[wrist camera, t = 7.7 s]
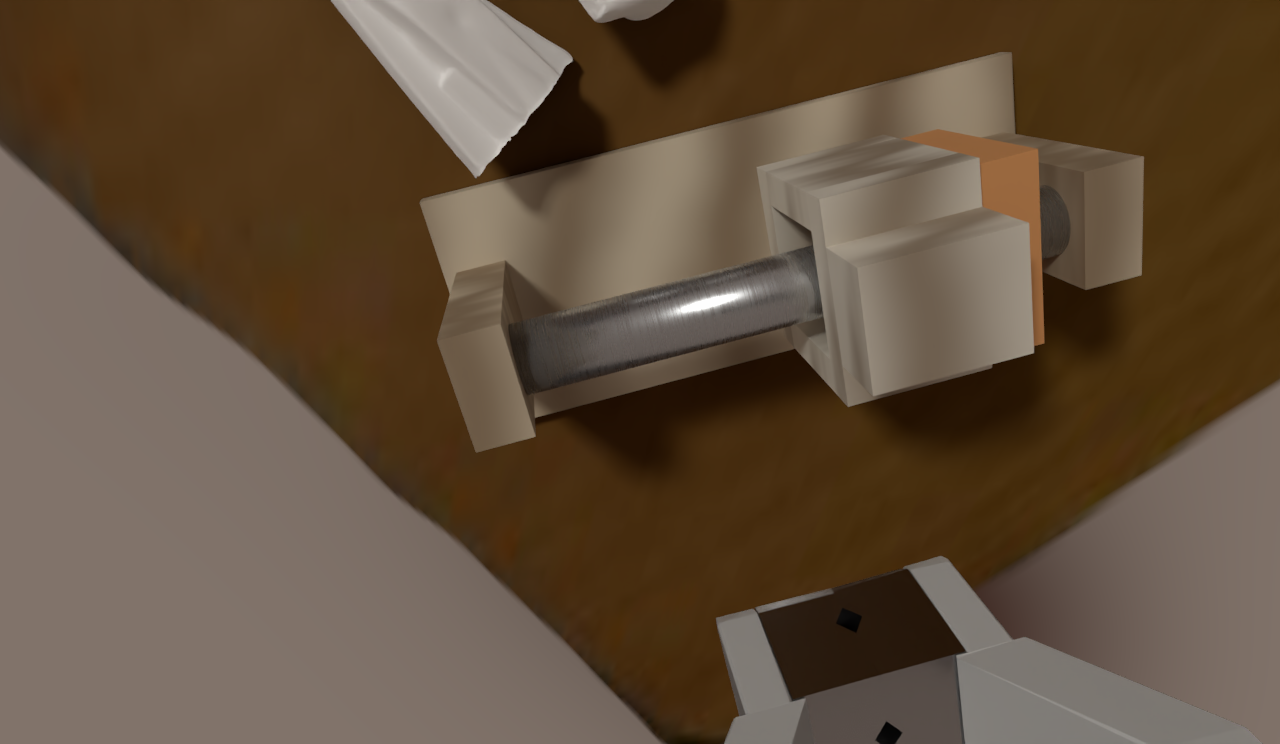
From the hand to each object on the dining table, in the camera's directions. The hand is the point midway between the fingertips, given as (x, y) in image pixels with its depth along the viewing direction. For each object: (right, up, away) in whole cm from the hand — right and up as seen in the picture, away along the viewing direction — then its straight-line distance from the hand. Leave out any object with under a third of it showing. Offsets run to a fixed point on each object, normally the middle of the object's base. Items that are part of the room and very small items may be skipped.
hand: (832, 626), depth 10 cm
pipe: (+2, +7, +19) cm, 20 cm away
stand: (+2, +9, +24) cm, 26 cm away
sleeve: (+5, +8, +22) cm, 24 cm away
